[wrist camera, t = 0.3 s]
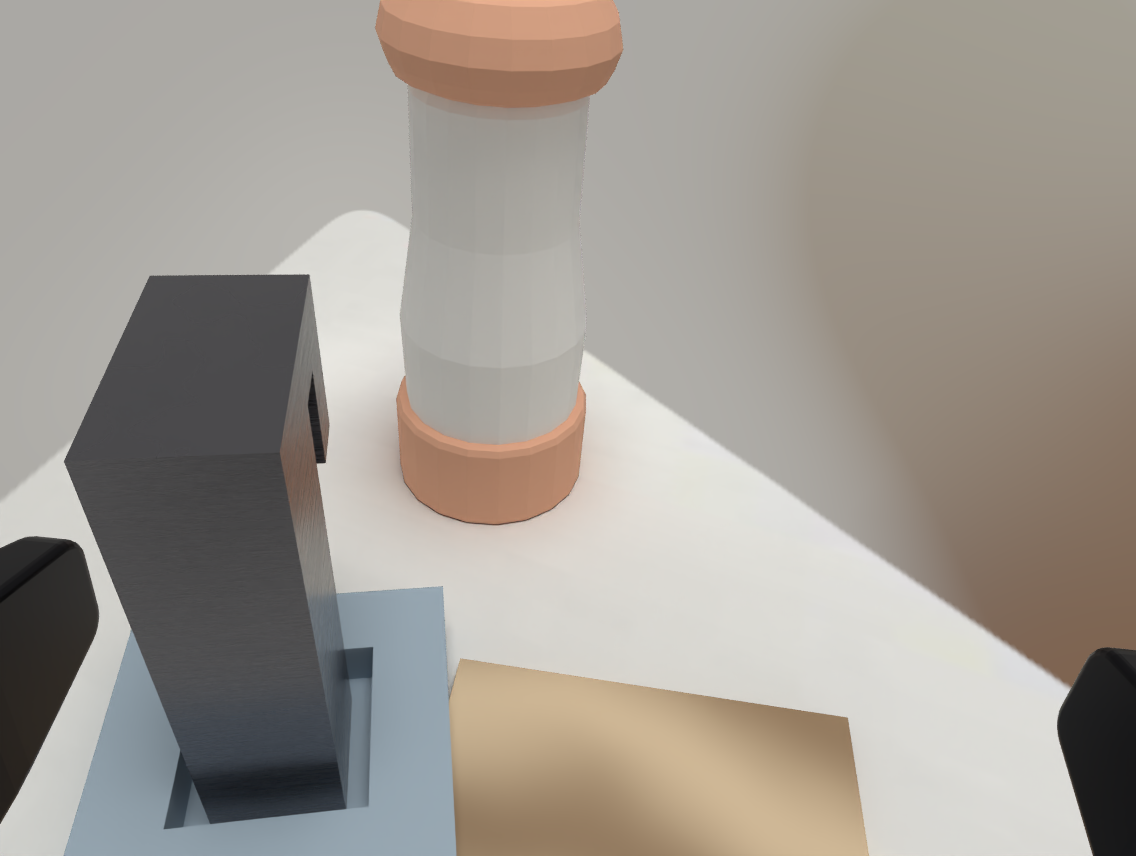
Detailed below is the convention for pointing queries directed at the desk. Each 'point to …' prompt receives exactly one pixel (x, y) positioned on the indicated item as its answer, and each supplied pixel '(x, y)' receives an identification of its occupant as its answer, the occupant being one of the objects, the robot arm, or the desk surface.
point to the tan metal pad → (643, 771)
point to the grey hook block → (225, 535)
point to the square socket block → (376, 758)
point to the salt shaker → (495, 246)
